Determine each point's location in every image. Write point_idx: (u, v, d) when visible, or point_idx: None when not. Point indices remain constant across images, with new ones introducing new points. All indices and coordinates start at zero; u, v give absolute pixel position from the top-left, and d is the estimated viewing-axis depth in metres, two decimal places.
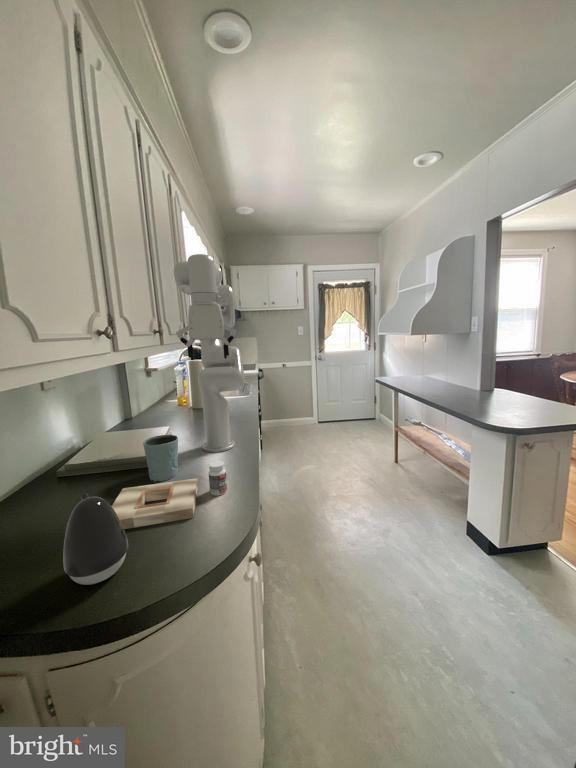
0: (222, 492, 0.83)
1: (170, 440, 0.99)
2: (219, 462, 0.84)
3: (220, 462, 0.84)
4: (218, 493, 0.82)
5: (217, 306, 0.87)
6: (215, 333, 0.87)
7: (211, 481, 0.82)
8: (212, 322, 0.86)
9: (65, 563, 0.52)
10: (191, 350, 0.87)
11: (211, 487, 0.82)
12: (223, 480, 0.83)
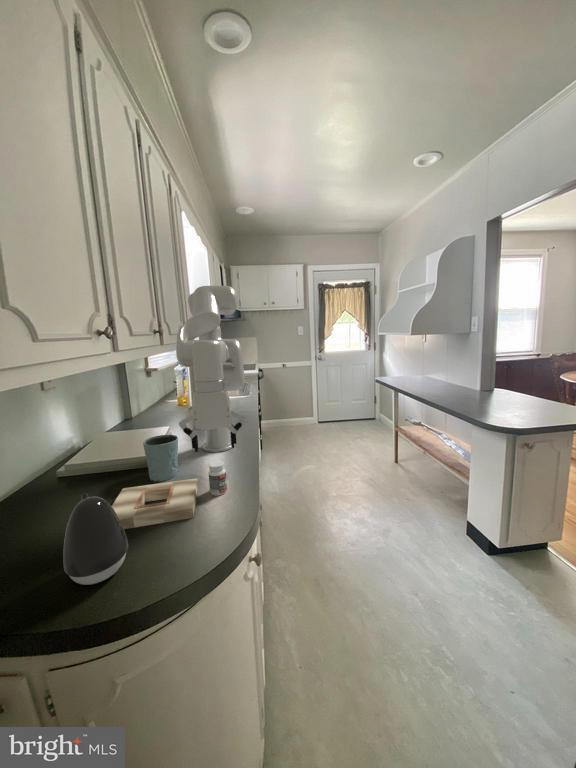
0: (222, 492, 0.83)
1: (170, 440, 0.99)
2: (219, 462, 0.84)
3: (220, 462, 0.84)
4: (218, 493, 0.82)
5: (224, 394, 0.79)
6: (222, 423, 0.79)
7: (211, 481, 0.82)
8: (218, 411, 0.79)
9: (65, 563, 0.52)
10: (195, 442, 0.79)
11: (211, 487, 0.82)
12: (223, 480, 0.83)
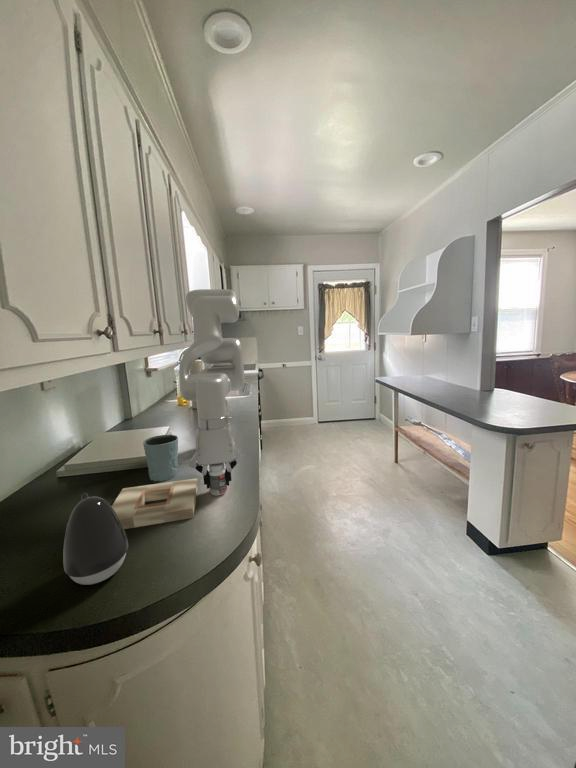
0: (222, 492, 0.83)
1: (170, 440, 0.99)
2: None
3: None
4: (218, 493, 0.82)
5: (227, 430, 0.81)
6: (225, 457, 0.81)
7: (211, 481, 0.82)
8: (221, 447, 0.80)
9: (65, 563, 0.52)
10: (207, 479, 0.82)
11: (211, 487, 0.82)
12: (223, 480, 0.83)
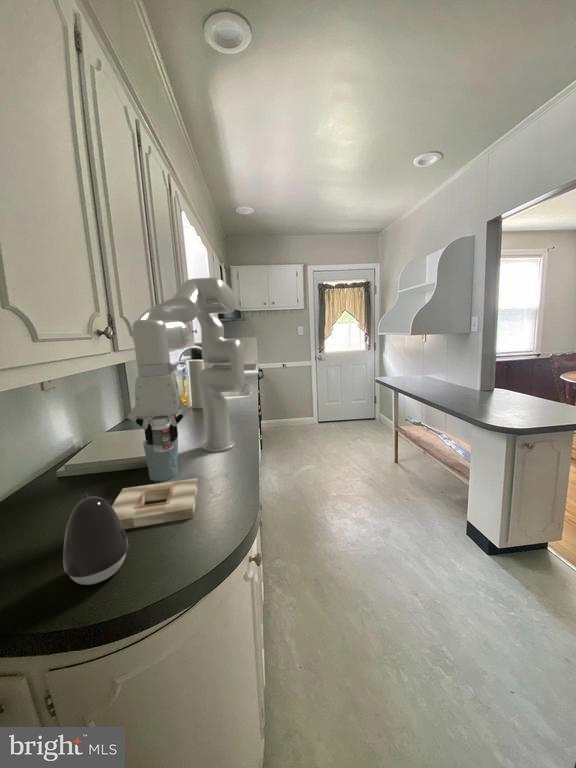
0: (166, 448, 0.75)
1: None
2: (164, 416, 0.77)
3: (165, 416, 0.76)
4: (161, 449, 0.75)
5: (169, 378, 0.73)
6: (168, 409, 0.74)
7: (153, 436, 0.74)
8: (163, 397, 0.73)
9: (65, 563, 0.52)
10: (149, 433, 0.74)
11: (154, 443, 0.75)
12: (167, 435, 0.75)
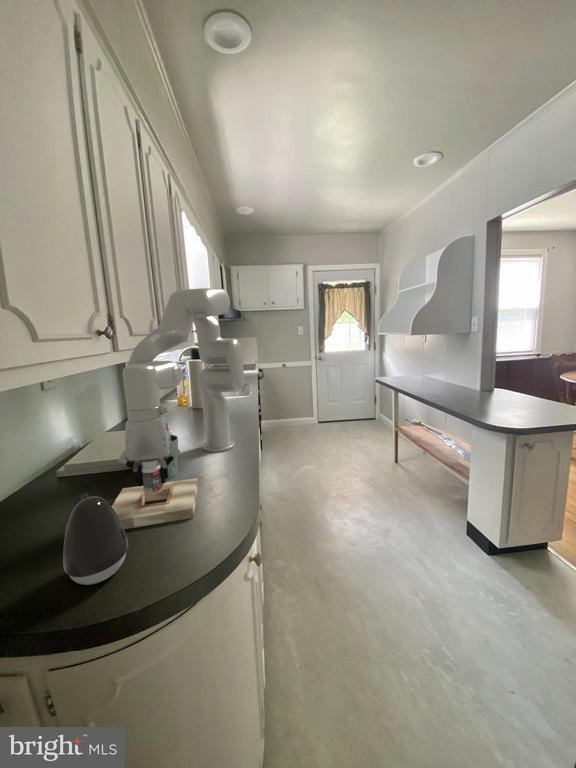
0: (156, 490, 0.76)
1: None
2: None
3: None
4: (151, 492, 0.75)
5: (159, 422, 0.73)
6: (158, 452, 0.74)
7: (143, 478, 0.75)
8: (153, 441, 0.73)
9: (65, 563, 0.52)
10: (139, 476, 0.75)
11: (144, 485, 0.75)
12: (157, 477, 0.76)
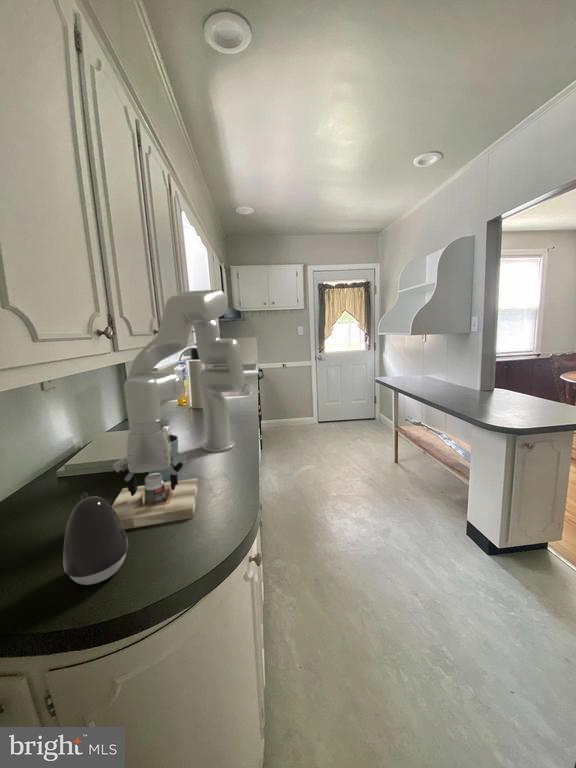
0: None
1: (170, 440, 0.99)
2: (157, 474, 0.78)
3: (158, 474, 0.78)
4: None
5: (161, 435, 0.74)
6: (159, 465, 0.75)
7: (146, 495, 0.76)
8: (155, 453, 0.74)
9: (65, 563, 0.52)
10: (131, 485, 0.75)
11: (147, 502, 0.76)
12: (160, 494, 0.77)
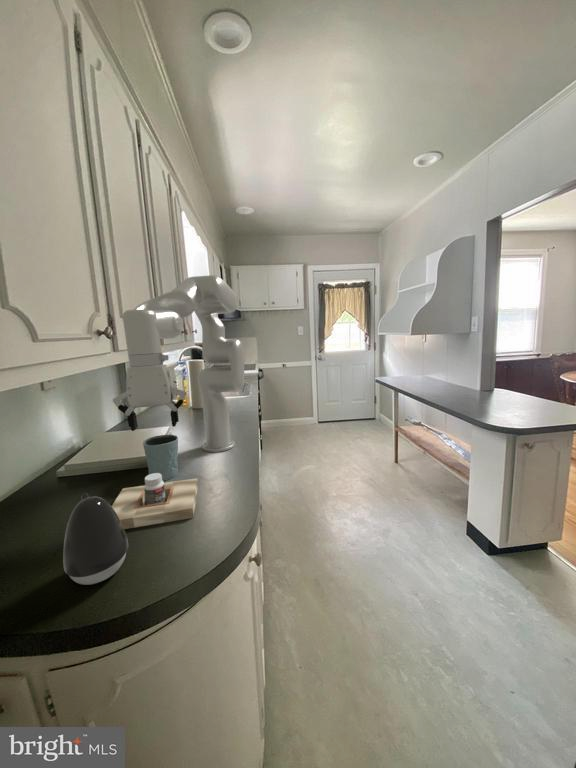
0: None
1: (170, 440, 0.99)
2: (157, 474, 0.78)
3: (158, 474, 0.78)
4: None
5: (160, 368, 0.73)
6: (160, 399, 0.74)
7: (146, 495, 0.76)
8: (155, 387, 0.73)
9: (65, 563, 0.52)
10: (131, 419, 0.74)
11: (147, 502, 0.76)
12: (160, 494, 0.77)
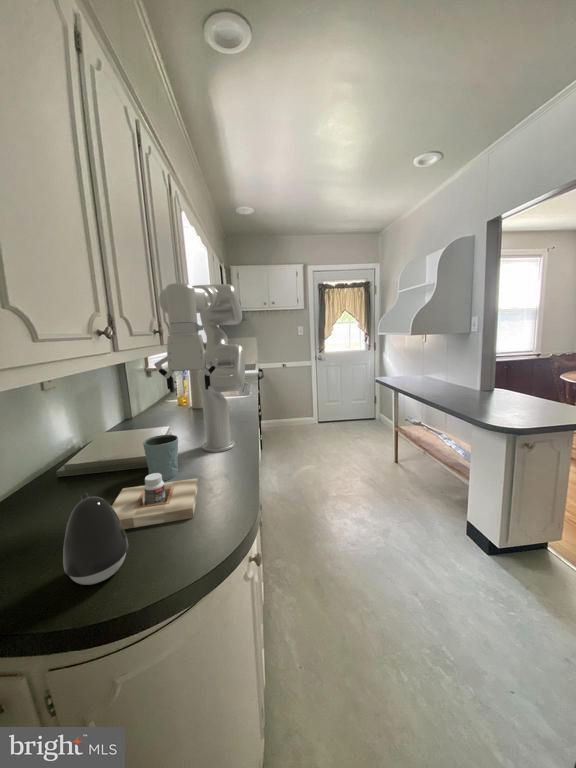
0: None
1: (170, 440, 0.99)
2: (157, 474, 0.78)
3: (158, 474, 0.78)
4: None
5: (197, 336, 0.83)
6: (196, 364, 0.84)
7: (146, 495, 0.76)
8: (192, 353, 0.83)
9: (65, 563, 0.52)
10: (170, 382, 0.83)
11: (147, 502, 0.76)
12: (160, 494, 0.77)
